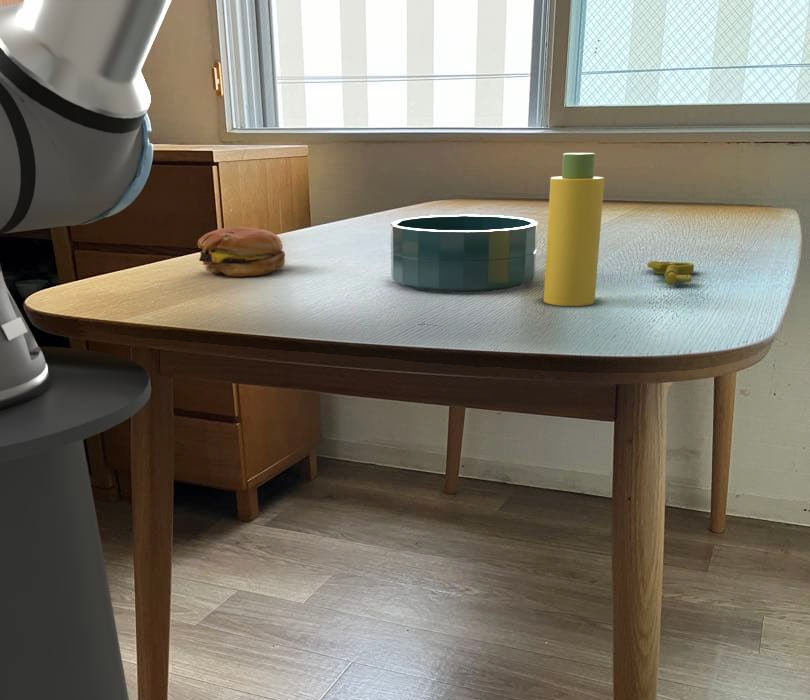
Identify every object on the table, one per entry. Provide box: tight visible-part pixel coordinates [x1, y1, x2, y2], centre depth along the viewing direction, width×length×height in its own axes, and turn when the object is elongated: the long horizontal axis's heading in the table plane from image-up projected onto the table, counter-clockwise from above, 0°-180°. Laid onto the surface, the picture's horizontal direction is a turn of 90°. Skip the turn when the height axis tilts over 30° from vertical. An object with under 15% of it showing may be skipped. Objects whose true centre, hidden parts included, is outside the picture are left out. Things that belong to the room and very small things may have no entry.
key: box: [646, 260, 695, 286], centre depth 96 cm, size 12×1×5 cm
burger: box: [196, 226, 286, 278], centre depth 102 cm, size 10×9×5 cm
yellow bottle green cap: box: [543, 152, 605, 307], centre depth 82 cm, size 5×5×13 cm
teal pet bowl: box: [390, 214, 538, 294], centre depth 94 cm, size 15×15×6 cm
